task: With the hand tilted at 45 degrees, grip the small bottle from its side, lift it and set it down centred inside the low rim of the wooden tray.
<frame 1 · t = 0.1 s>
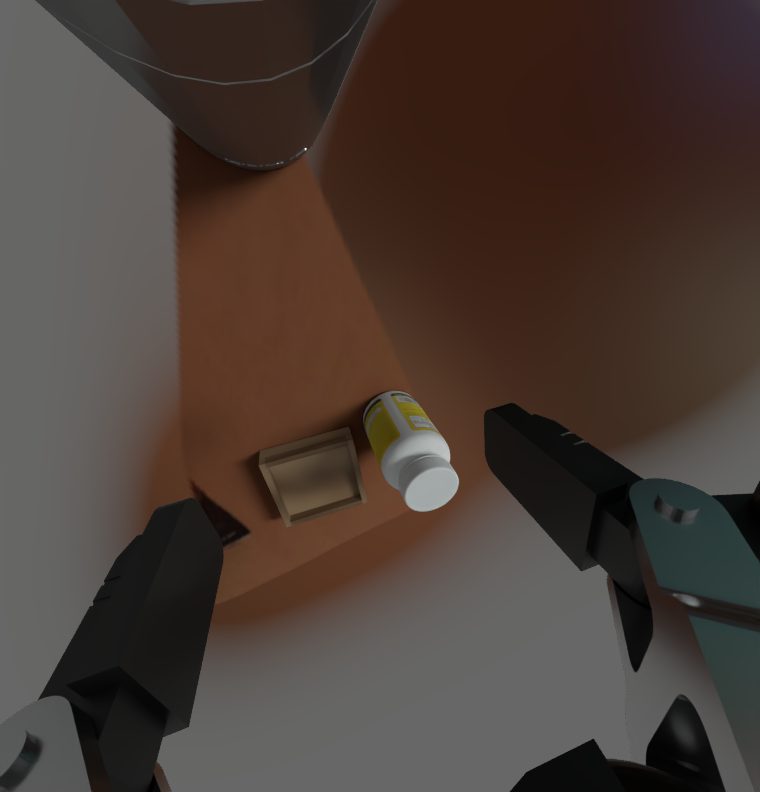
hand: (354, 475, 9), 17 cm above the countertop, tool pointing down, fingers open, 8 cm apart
wooden tray: (316, 470, 30), on the countertop
supplement bottle: (389, 413, 30), on the countertop
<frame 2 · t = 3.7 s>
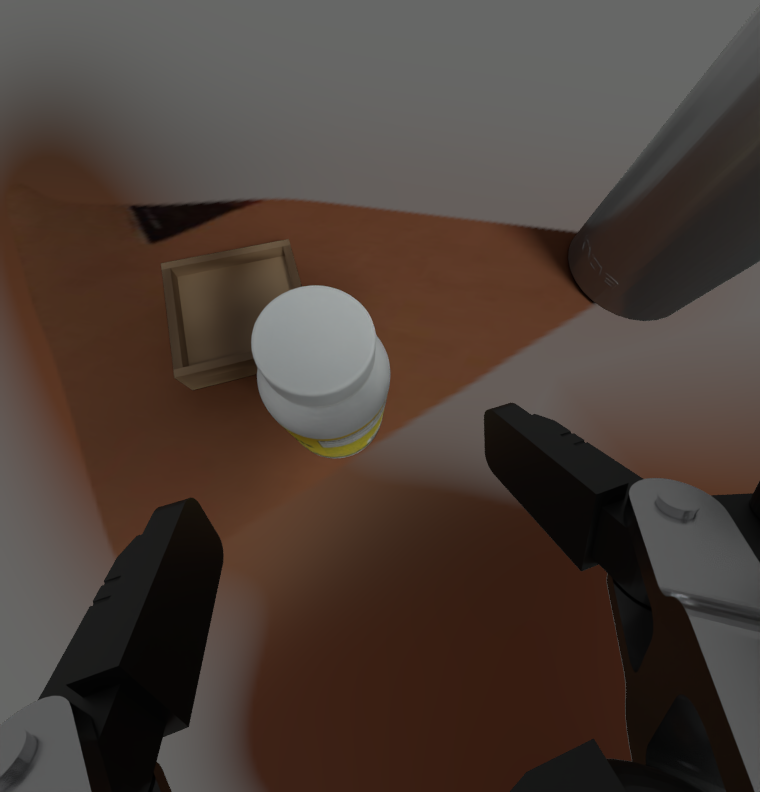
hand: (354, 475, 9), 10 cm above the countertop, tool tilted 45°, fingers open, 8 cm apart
wooden tray: (247, 320, 21), on the countertop
supplement bottle: (337, 416, 20), on the countertop
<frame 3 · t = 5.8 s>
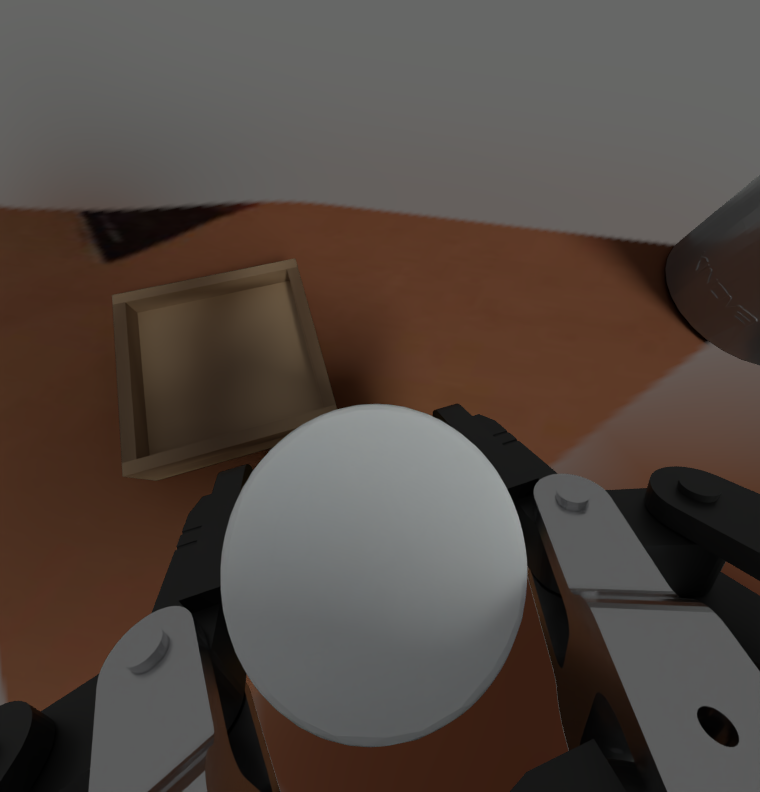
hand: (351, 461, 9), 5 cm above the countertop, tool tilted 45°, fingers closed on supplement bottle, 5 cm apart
wooden tray: (238, 372, 15), on the countertop
supplement bottle: (366, 517, 13), on the countertop, touching gripper
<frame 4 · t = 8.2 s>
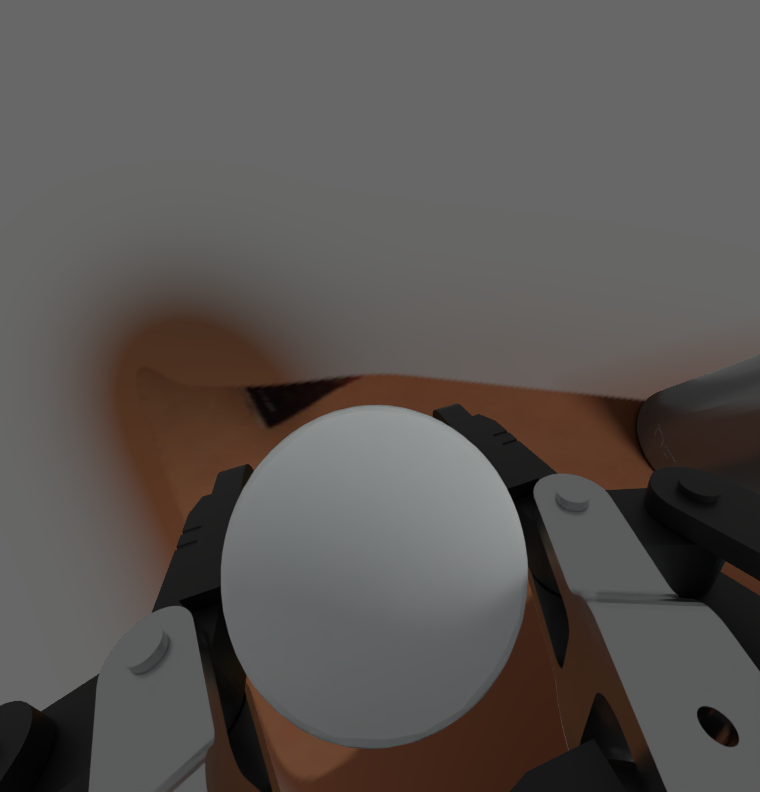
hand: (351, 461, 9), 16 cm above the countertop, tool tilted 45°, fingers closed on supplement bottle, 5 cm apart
supplement bottle: (366, 517, 13), point 11 cm above the countertop, touching gripper
when the fingers open (7 cm above the countertop, at t = 10.5 s): supplement bottle drops 1 cm, resting on wooden tray.
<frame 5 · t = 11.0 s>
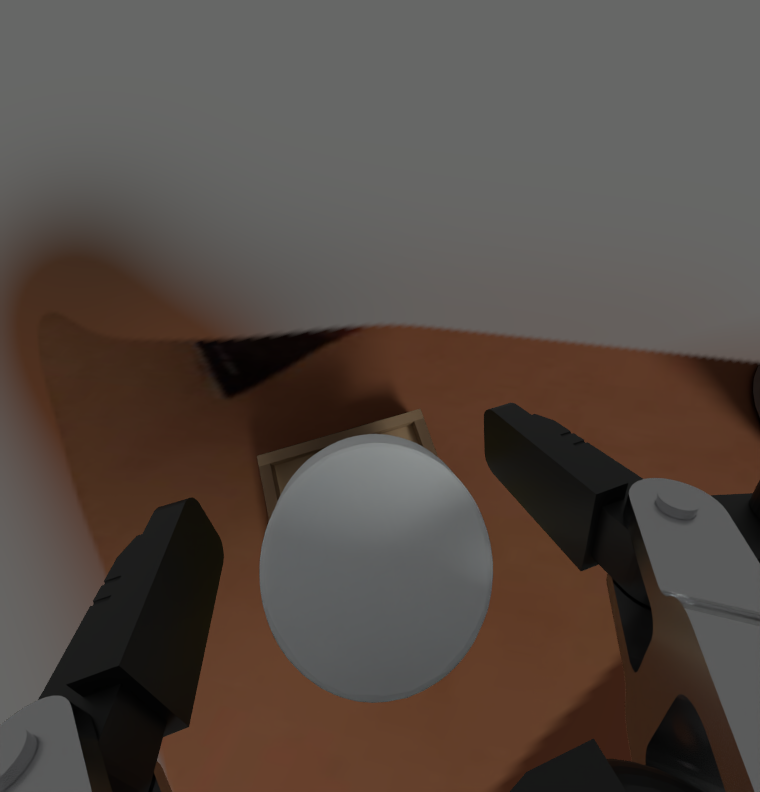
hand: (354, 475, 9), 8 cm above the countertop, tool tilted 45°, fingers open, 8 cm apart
wooden tray: (365, 515, 16), on the countertop
supplement bottle: (369, 520, 15), point 1 cm above the countertop, touching wooden tray
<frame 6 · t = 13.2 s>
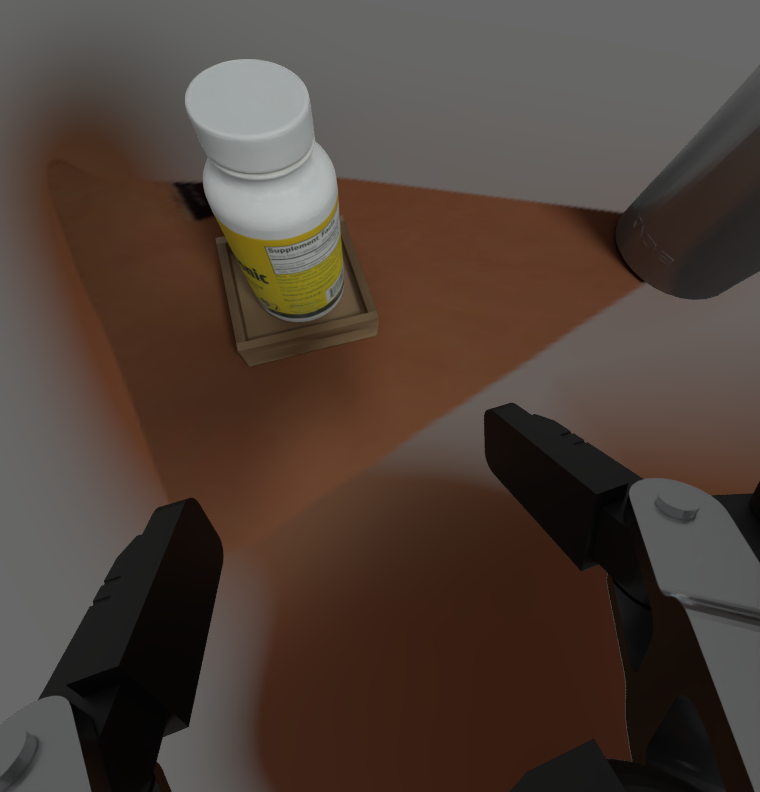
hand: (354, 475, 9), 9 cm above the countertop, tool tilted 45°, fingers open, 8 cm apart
wooden tray: (300, 297, 21), on the countertop
supplement bottle: (301, 289, 20), point 1 cm above the countertop, touching wooden tray
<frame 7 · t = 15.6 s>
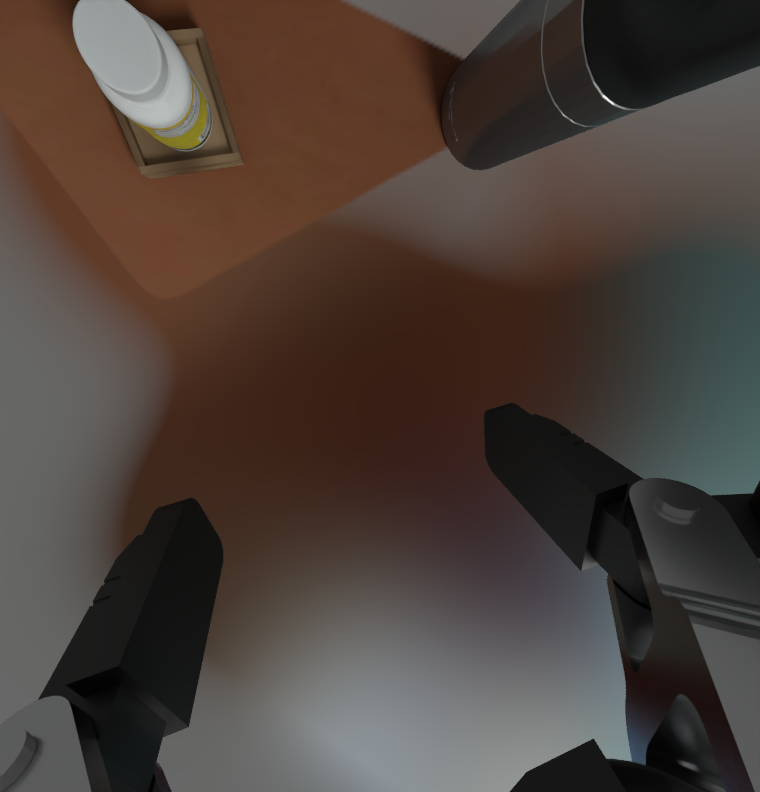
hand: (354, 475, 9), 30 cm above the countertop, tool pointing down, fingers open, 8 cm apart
wooden tray: (177, 114, 26), on the countertop
supplement bottle: (177, 113, 26), point 1 cm above the countertop, touching wooden tray
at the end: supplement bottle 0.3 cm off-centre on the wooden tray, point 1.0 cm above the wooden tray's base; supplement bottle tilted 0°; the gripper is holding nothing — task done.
